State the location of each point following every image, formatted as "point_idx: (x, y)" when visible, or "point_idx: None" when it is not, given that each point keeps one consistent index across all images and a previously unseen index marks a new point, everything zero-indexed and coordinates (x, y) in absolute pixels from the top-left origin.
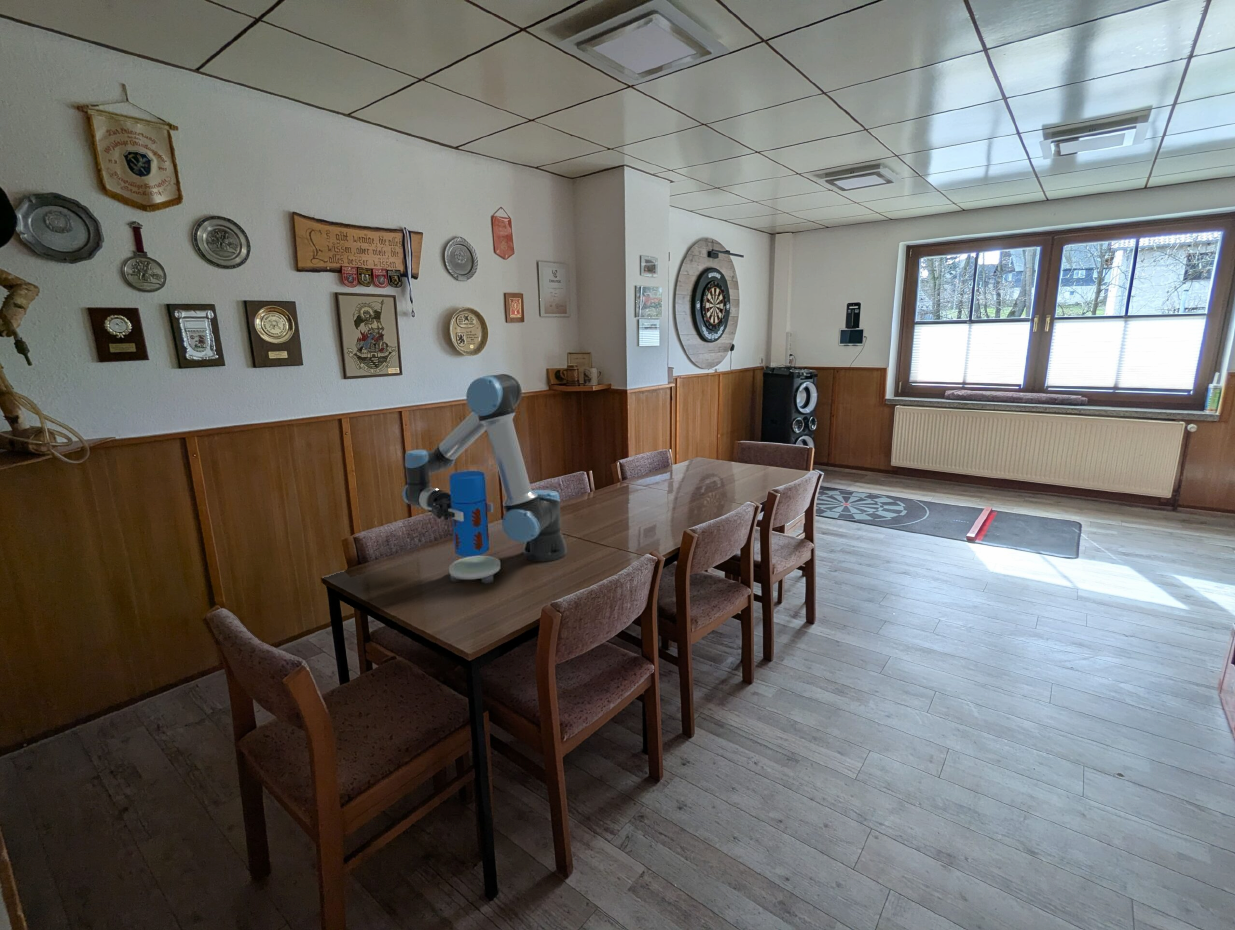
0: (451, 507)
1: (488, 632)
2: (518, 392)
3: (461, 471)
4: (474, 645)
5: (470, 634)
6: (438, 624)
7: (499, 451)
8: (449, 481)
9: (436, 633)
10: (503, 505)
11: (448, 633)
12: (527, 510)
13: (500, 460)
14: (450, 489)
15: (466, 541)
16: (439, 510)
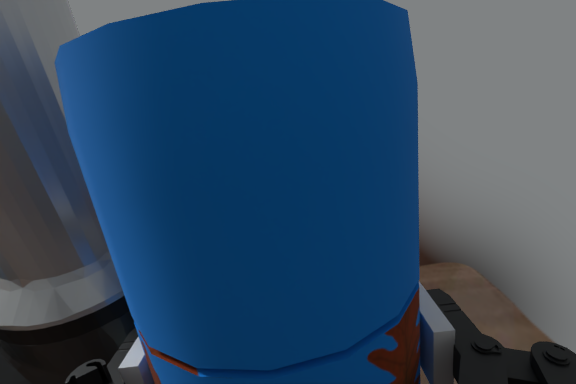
0: (419, 333)
1: (424, 280)
2: None
3: (120, 22)
4: (454, 268)
5: (454, 288)
6: (519, 342)
7: None
8: (416, 79)
9: (522, 317)
10: (113, 306)
11: (495, 307)
12: None
13: (69, 17)
14: (417, 165)
15: None
16: (550, 347)
